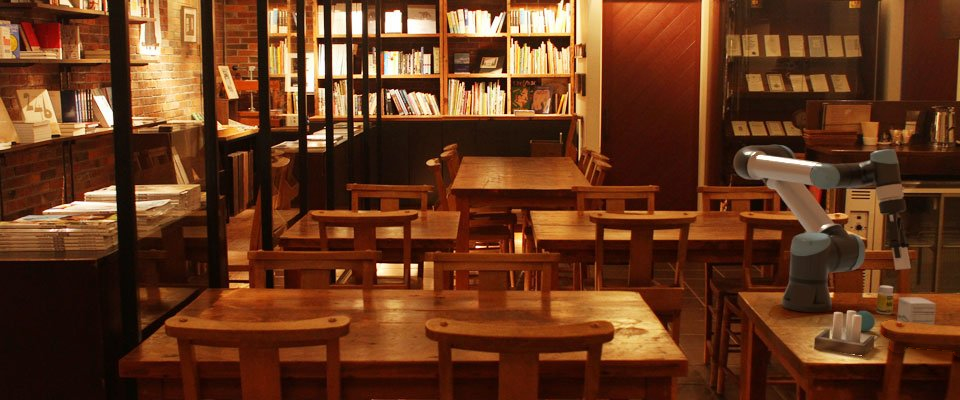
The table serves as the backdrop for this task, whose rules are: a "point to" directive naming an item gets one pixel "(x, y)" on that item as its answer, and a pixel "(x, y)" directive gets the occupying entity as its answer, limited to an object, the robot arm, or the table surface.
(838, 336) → the pin
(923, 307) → the supplement box
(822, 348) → the tray
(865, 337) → the beige square tile
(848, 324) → the pin front
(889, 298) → the supplement bottle
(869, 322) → the ball
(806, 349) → the table surface
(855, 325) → the pin
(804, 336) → the table surface
